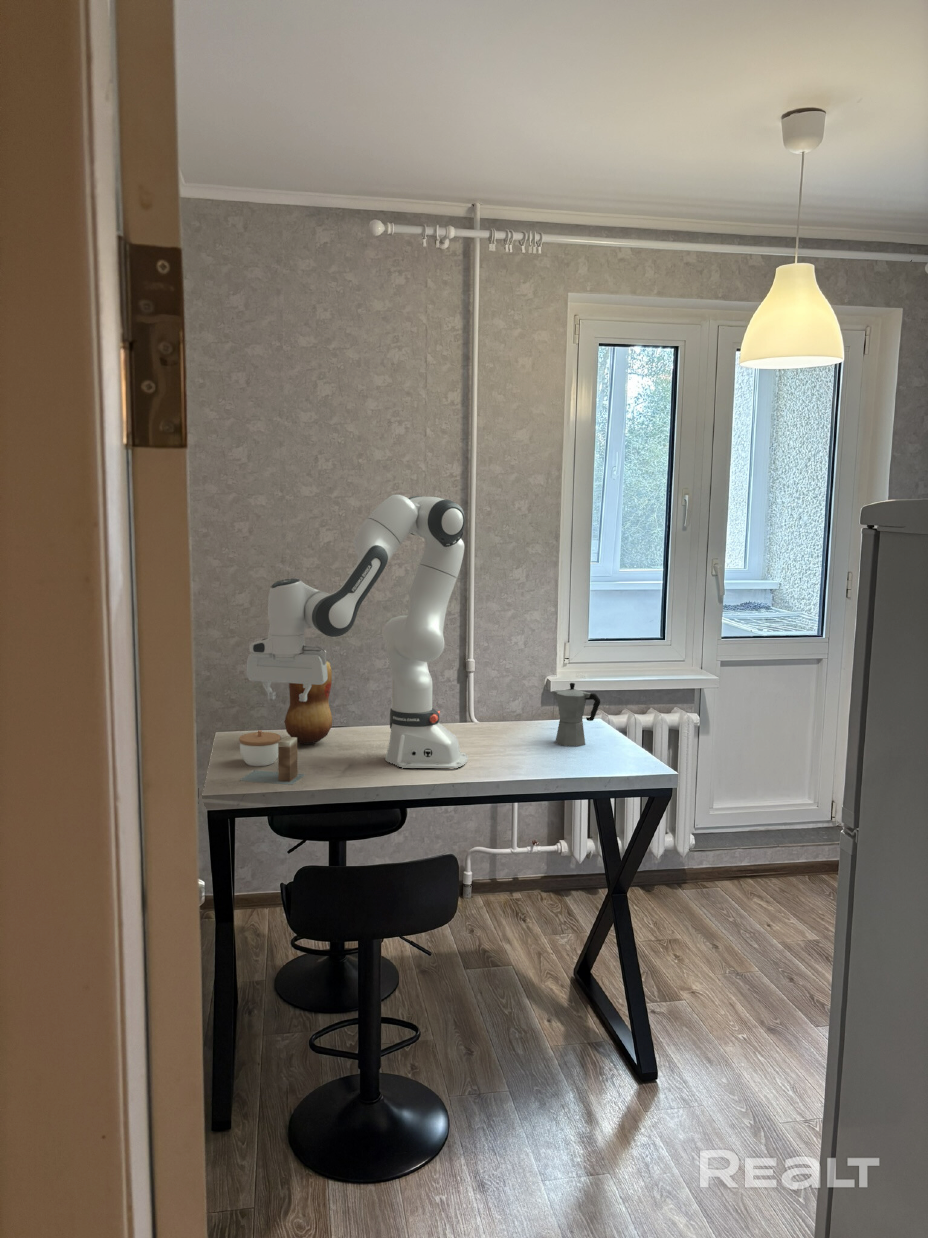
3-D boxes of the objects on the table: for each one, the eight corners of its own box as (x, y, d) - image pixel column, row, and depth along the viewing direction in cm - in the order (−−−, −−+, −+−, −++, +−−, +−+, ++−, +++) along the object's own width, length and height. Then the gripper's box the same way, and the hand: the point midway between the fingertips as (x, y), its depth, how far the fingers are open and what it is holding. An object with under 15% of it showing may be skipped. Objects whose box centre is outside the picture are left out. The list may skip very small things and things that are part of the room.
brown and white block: (297, 776, 236) (297, 737, 234) (289, 781, 231) (289, 742, 230) (286, 775, 236) (285, 736, 235) (278, 781, 231) (278, 741, 230)
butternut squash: (325, 750, 263) (325, 663, 259) (279, 748, 264) (278, 661, 261) (337, 738, 276) (337, 654, 273) (293, 736, 278) (293, 653, 275)
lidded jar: (281, 759, 253) (280, 725, 252) (280, 770, 243) (280, 735, 242) (240, 760, 252) (240, 726, 250) (238, 772, 241) (237, 736, 240)
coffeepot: (543, 743, 275) (545, 683, 272) (556, 736, 283) (557, 677, 281) (592, 750, 267) (594, 689, 265) (604, 743, 276) (606, 683, 273)
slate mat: (305, 777, 237) (305, 774, 237) (292, 788, 229) (292, 784, 229) (254, 773, 240) (254, 770, 240) (239, 783, 231) (239, 780, 231)
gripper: (331, 645, 230) (331, 699, 232) (253, 641, 234) (254, 695, 236) (322, 649, 224) (322, 705, 226) (243, 645, 228) (244, 700, 230)
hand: (287, 700), depth 231 cm, fingers open, 7 cm apart
